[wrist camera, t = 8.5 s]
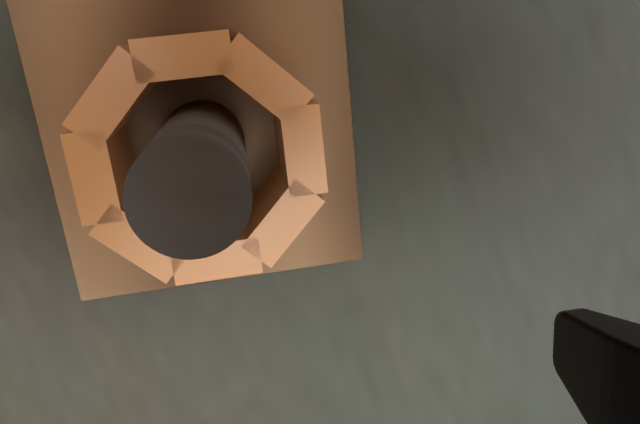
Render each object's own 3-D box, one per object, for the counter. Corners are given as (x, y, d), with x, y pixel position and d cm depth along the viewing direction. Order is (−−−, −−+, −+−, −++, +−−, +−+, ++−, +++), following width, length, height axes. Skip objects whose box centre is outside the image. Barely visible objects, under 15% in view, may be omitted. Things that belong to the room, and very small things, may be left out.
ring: (296, 23, 16) (311, 20, 13) (318, 226, 18) (334, 261, 15) (73, 46, 16) (38, 48, 13) (120, 255, 18) (98, 297, 15)
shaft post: (330, -31, 17) (407, -82, 10) (353, 243, 20) (427, 366, 13) (24, -3, 16) (-153, -37, 9) (92, 281, 19) (2, 440, 12)
